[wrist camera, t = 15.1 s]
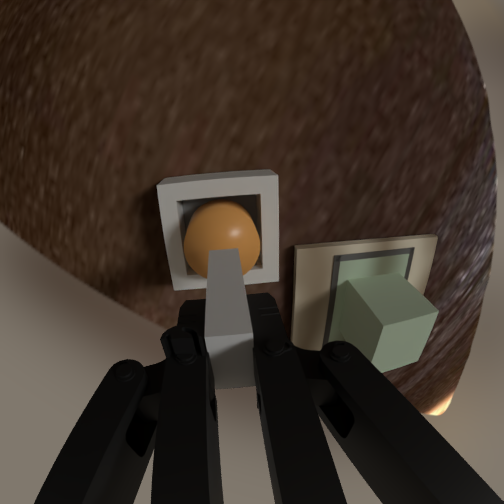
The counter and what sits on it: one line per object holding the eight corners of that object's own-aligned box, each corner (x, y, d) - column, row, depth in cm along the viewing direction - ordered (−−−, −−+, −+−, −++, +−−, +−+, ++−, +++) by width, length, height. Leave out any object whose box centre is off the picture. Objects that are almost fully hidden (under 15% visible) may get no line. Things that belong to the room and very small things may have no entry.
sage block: (339, 328, 27) (365, 377, 20) (347, 279, 24) (383, 326, 18) (386, 319, 27) (417, 360, 21) (398, 272, 25) (438, 311, 19)
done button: (192, 263, 21) (189, 284, 18) (184, 202, 19) (178, 214, 16) (255, 258, 21) (261, 278, 18) (253, 196, 19) (259, 207, 16)
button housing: (178, 271, 23) (174, 290, 20) (164, 178, 20) (156, 185, 17) (271, 263, 24) (278, 281, 21) (269, 169, 20) (278, 175, 18)
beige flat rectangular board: (289, 354, 29) (291, 359, 28) (294, 245, 23) (297, 249, 22) (407, 328, 30) (410, 332, 29) (433, 234, 25) (438, 237, 24)
